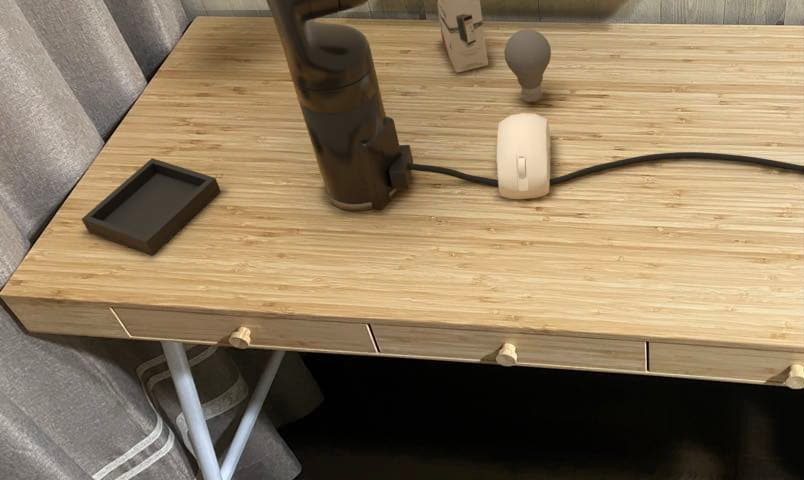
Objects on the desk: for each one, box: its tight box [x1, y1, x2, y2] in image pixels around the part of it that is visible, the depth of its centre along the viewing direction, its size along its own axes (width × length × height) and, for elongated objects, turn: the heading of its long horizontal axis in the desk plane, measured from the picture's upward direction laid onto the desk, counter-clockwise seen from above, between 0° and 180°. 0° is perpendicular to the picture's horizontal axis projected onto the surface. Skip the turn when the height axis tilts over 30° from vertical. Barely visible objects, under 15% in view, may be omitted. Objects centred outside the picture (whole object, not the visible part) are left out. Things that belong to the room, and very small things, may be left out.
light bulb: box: [503, 28, 552, 102], centre depth 131 cm, size 6×6×10 cm
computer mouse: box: [495, 112, 551, 200], centre depth 123 cm, size 6×13×6 cm, turn 0°
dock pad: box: [81, 157, 221, 256], centre depth 124 cm, size 11×13×2 cm
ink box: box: [435, 0, 489, 73], centre depth 139 cm, size 9×5×12 cm, turn 17°
